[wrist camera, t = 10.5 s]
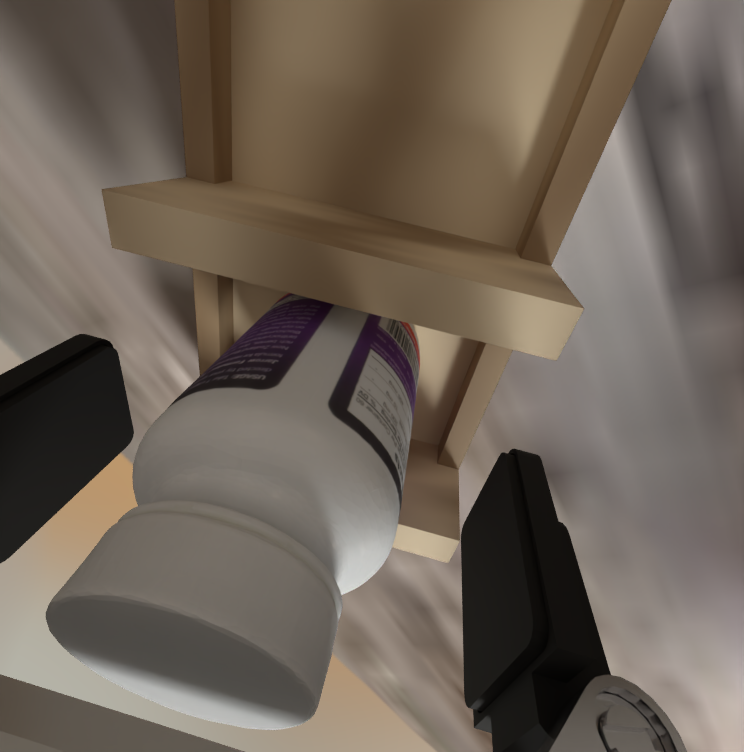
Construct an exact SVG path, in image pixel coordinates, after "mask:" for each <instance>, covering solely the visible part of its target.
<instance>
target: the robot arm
mask: <svg viewBox="0 0 744 752" xmlns="http://www.w3.org/2000/svg"><path fill="white" fill-rule="evenodd" d="M133 434H134V430H133V425H132V420H131V415H130V410H129V405H128V400H127V396H126V391H125V386H124V381H123V376H122V371H121V366H120V361H119V356H118V353H117V351H116V350H115V349H114V348H113V345H112V344H111V343H110V341H107V340H105V339H101V338H97V337H94V336H90V335H86V334H79V335H76V336H74V337H72V338H70V339H68V340H66V341H64V342H63V343H61V344H59V345H57V346H55V347H53V348H51V349H49V350H47V351H45V352H43V353H41V354H40V355H38V356H36V357H34V358H32V359H30V360H28V361H26V362H24V363H22V364H20V365H18V366H17V367H15V368H13V369H11V370H9V371H7V372H5V373H3V374H1V375H0V563H2V562H3V561H5V560H6V559H8V558H9V557H10V556H11V555H12V554H13V553H15V552H16V551H17V550H18V549H19V548H20V547H21V546H22V545H23V544H24V543H25V542H26V541H27V540H28V539H29V538H30V537H31V536H32V535H34V534H35V532H37V531H38V530H39V529H40V528H41V527H42V526H43V525H44V524H45V523H46V522H47V521H48V520H49V519H51V518H52V517H53V516H54V515H55V514H56V513H57V512H58V511H59V510H60V509H61V508H62V507H63V506H64V505H65V504H66V503H68V501H70V500H71V499H72V498H73V497H74V496H75V495H76V494H77V493H78V492H79V491H80V490H81V489H82V488H83V487H85V486H86V485H87V484H88V483H89V482H90V481H91V480H92V479H93V478H94V477H95V476H96V475H97V474H98V473H99V472H100V471H101V470H103V469H104V468H105V467H106V466H107V465H108V464H109V463H110V462H111V461H112V460H113V459H114V458H115V457H116V456H117V455H118V454H119V453H121V452H122V451H123V450H124V449H125V448H126V447H127V446H128V445H129V444H130V442H131V440H132V438H133ZM461 558H462V605H463V652H464V694H465V702H466V705H467V707H468V708H471V709H473V715H474V728H476V729H480V730H483V731H486V732H489V733H492V743H493V752H687V750H686V748H685V746H684V744H683V741H682V739H681V737H680V735H679V733H678V732H677V730H676V728H675V727H674V725H673V724H672V722H671V721H670V719H669V718H668V716H667V715H666V713H665V712H664V711H663V710H662V709H661V708H660V707H659V706H658V704H657V703H656V702H655V701H654V700H653V699H652V698H651V697H650V696H649V695H648V694H646V693H645V692H644V691H643V690H641V689H640V688H639V687H638V686H637V685H635V684H633V683H631V682H629V681H627V680H625V679H623V678H621V677H618V676H613V675H611V674H610V671H609V667H608V664H607V660H606V657H605V654H604V650H603V647H602V643H601V640H600V637H599V633H598V630H597V627H596V623H595V620H594V616H593V613H592V610H591V606H590V603H589V599H588V596H587V593H586V589H585V586H584V582H583V579H582V576H581V572H580V569H579V566H578V562H577V559H576V555H575V552H574V549H573V545H572V542H571V538H570V535H569V533H568V530H567V528H566V527H565V525H564V524H563V523H561V522H558V518H557V515H556V511H555V507H554V504H553V500H552V497H551V493H550V489H549V486H548V482H547V478H546V475H545V471H544V468H543V464H542V460H541V458H540V456H538V455H536V454H532V453H528V452H525V451H521V450H517V449H512V450H510V452H509V453H508V454H507V453H501V454H500V456H499V458H498V460H497V461H496V463H495V465H494V467H493V469H492V471H491V473H490V475H489V477H488V479H487V481H486V482H485V484H484V486H483V488H482V490H481V492H480V494H479V496H478V498H477V500H476V502H475V503H474V505H473V507H472V509H471V511H470V513H469V515H468V517H467V519H466V521H465V523H464V525H463V528H462V534H461ZM0 752H244V751H241V750H238V749H235V748H231V747H228V746H225V745H222V744H219V743H216V742H212V741H209V740H206V739H203V738H200V737H197V736H194V735H191V734H188V733H184V732H181V731H178V730H175V729H172V728H169V727H166V726H162V725H159V724H156V723H153V722H150V721H147V720H143V719H140V718H137V717H134V716H131V715H128V714H124V713H121V712H118V711H115V710H112V709H109V708H105V707H102V706H99V705H96V704H93V703H90V702H86V701H83V700H80V699H77V698H74V697H70V696H67V695H64V694H61V693H57V692H55V691H51V690H48V689H45V688H42V687H39V686H35V685H32V684H29V683H26V682H22V681H19V680H16V679H13V678H10V677H7V676H4V675H0Z"/></svg>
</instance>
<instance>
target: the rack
mask: <svg viewBox="0 0 744 752" xmlns="http://www.w3.org/2000/svg"><path fill="white" fill-rule="evenodd" d="M174 2H175V17H176V31H177V46H178V61H179V76H180V90H181V105H182V120H183V134H184V149H185V164H186V177H184V178H177V179H170V180H163V181H156V182H149V183H142V184H135V185H128V186H121V187H114V188H107V189H102V195H103V200H104V206H105V211H106V217H107V222H108V228H109V233H110V239H111V244H112V248H115V249H119V250H123V251H127V252H131V253H135V254H139V255H143V256H147V257H151V258H155V259H158V260H162V261H166V262H170V263H174V264H178V265H182V266H186V267H190V268H193V281H194V296H195V311H196V325H197V340H198V355H199V370H200V376H201V375H202V374H203V373H204V372H205V371H206V370H207V369H208V368H209V367H210V366H211V365H212V364H213V363H214V362H215V361H216V360H218V359H219V358H220V357H221V356H222V355H223V354H224V353H225V352H226V351H227V350H228V349H229V348H230V347H231V346H232V345H233V344H234V343H235V342H236V341H237V340H238V339H239V338H240V337H241V336H242V335H243V334H244V333H245V332H246V331H247V330H248V329H250V328H251V327H252V326H253V325H254V324H255V323H256V322H257V321H258V320H259V319H260V318H261V317H262V316H263V315H264V314H265V313H266V312H267V311H268V310H269V309H270V308H271V307H272V306H273V305H274V304H275V303H276V302H277V301H278V300H279V299H280V298H282V297H283V296H284V295H286V294H287V293H292V294H296V295H300V296H304V297H308V298H312V299H316V300H319V301H323V302H327V303H331V304H335V305H339V306H343V307H347V308H351V309H355V310H359V311H363V312H367V313H371V314H374V315H378V316H382V317H386V318H390V319H394V320H398V321H402V322H406V323H410V324H413V326H414V328H415V331H416V334H417V337H418V341H419V347H420V371H419V379H418V386H417V393H416V401H415V409H414V416H413V423H412V429H411V438H410V444H409V452H408V459H407V466H406V473H405V481H404V487H403V496H402V503H401V510H400V515H399V520H398V526H397V531H396V536H395V540H394V543H393V546H392V547H393V548H397V549H400V550H404V551H407V552H411V553H414V554H418V555H421V556H425V557H428V558H432V559H435V560H439V561H443V562H446V563H448V562H449V560H450V558H451V557H452V555H453V553H454V551H455V549H456V547H457V545H458V543H459V542H460V527H459V467H460V465H461V463H462V461H463V459H464V456H465V454H466V452H467V450H468V448H469V445H470V443H471V441H472V439H473V437H474V434H475V432H476V430H477V428H478V426H479V423H480V421H481V419H482V417H483V415H484V412H485V410H486V408H487V406H488V403H489V401H490V399H491V397H492V395H493V392H494V390H495V388H496V386H497V384H498V381H499V379H500V377H501V375H502V373H503V370H504V368H505V366H506V364H507V362H508V359H509V357H510V355H511V353H512V351H513V350H516V351H520V352H524V353H528V354H532V355H536V356H539V357H543V358H547V359H551V360H555V361H557V359H558V357H559V355H560V353H561V351H562V349H563V348H564V346H565V344H566V342H567V340H568V338H569V336H570V334H571V333H572V331H573V329H574V327H575V325H576V323H577V321H578V320H579V318H580V316H581V314H582V312H583V310H584V308H583V306H582V305H581V304H580V303H579V301H578V300H577V299H576V297H575V296H574V295H573V294H572V292H571V291H570V290H569V288H568V287H567V286H566V285H565V283H564V282H563V281H562V279H561V278H560V277H559V276H558V274H557V273H556V272H555V270H554V269H553V268H552V267H551V265H552V263H553V260H554V258H555V256H556V254H557V252H558V249H559V247H560V245H561V243H562V240H563V238H564V236H565V234H566V232H567V229H568V227H569V225H570V223H571V221H572V218H573V216H574V214H575V212H576V210H577V207H578V205H579V203H580V201H581V199H582V196H583V194H584V192H585V190H586V188H587V185H588V183H589V181H590V179H591V177H592V174H593V172H594V170H595V168H596V166H597V163H598V161H599V159H600V157H601V155H602V152H603V150H604V148H605V146H606V144H607V141H608V139H609V137H610V135H611V133H612V130H613V128H614V126H615V124H616V122H617V119H618V117H619V115H620V113H621V111H622V108H623V106H624V104H625V102H626V100H627V97H628V95H629V93H630V91H631V88H632V86H633V84H634V82H635V80H636V77H637V75H638V73H639V71H640V69H641V66H642V64H643V62H644V60H645V58H646V55H647V53H648V51H649V49H650V47H651V44H652V42H653V40H654V38H655V36H656V33H657V31H658V29H659V27H660V25H661V22H662V20H663V18H664V16H665V14H666V11H667V9H668V7H669V5H670V3H671V0H174Z"/></svg>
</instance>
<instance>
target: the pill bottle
mask: <svg viewBox="0 0 744 752" xmlns="http://www.w3.org/2000/svg"><path fill="white" fill-rule="evenodd" d="M419 371H420V347H419V341H418V337H417V334H416V331H415V328H414V326H413V324H410V323H406V322H402V321H398V320H394V319H390V318H386V317H382V316H378V315H374V314H371V313H367V312H363V311H359V310H355V309H351V308H347V307H343V306H339V305H335V304H331V303H327V302H323V301H319V300H316V299H312V298H308V297H304V296H300V295H296V294H292V293H287V294H286V295H284V296H283V297H282V298H280V299H279V300H278V301H277V302H276V303H275V304H274V305H273V306H272V307H271V308H270V309H269V310H268V311H267V312H266V313H265V314H264V315H263V316H262V317H261V318H260V319H259V320H258V321H257V322H256V323H255V324H254V325H253V326H252V327H251V328H250V329H248V330H247V331H246V332H245V333H244V334H243V335H242V336H241V337H240V338H239V339H238V340H237V341H236V342H235V343H234V344H233V345H232V346H231V347H230V348H229V349H228V350H227V351H226V352H225V353H224V354H223V355H222V356H221V357H220V358H219V359H218V360H216V361H215V362H214V363H213V364H212V365H211V366H210V367H209V368H208V369H207V370H206V371H205V372H204V373H203V374H202V375H201V376H200V377H199V378H198V379H197V380H196V381H195V382H194V383H193V384H192V385H191V386H190V387H188V388H187V389H186V390H185V391H184V392H183V393H182V394H181V395H180V396H179V397H178V398H177V399H176V400H175V401H174V402H173V403H172V404H171V405H170V406H169V407H168V409H167V410H166V411H165V412H164V413H163V414H162V415H161V416H160V417H159V418H158V419H157V420H156V421H155V422H154V423H153V425H152V426H151V427H150V428H149V430H148V431H147V432H146V434H145V436H144V437H143V439H142V441H141V443H140V445H139V447H138V450H137V453H136V456H135V460H134V464H133V489H134V493H135V498H136V501H137V504H138V507H135V508H133V509H131V510H130V511H128V512H127V513H126V514H125V515H123V516H122V517H121V519H120V520H119V521H118V522H117V523H116V524H115V525H113V526H112V527H111V528H110V529H109V530H108V531H107V532H106V533H105V534H104V536H103V537H102V538H101V540H100V541H99V543H98V544H97V545H96V546H95V548H94V549H93V550H92V551H91V553H90V554H89V555H88V557H87V558H86V559H85V561H84V562H83V563H82V564H81V565H80V567H79V568H78V569H77V570H76V571H75V573H74V574H73V575H72V576H71V578H70V579H69V580H68V581H67V583H66V584H65V585H64V586H63V587H62V588H61V589H60V591H59V592H58V593H57V594H56V595H55V596H54V598H53V599H52V601H51V602H50V604H49V606H48V609H47V611H46V620H47V624H48V627H49V630H50V632H51V633H52V634H53V636H54V637H55V638H56V639H57V641H58V642H59V643H60V644H61V645H62V646H63V647H64V648H65V649H66V650H67V651H68V652H69V653H70V654H71V655H73V656H74V657H75V658H77V659H78V660H79V661H80V662H82V663H83V664H85V665H86V666H87V667H89V668H90V669H91V670H93V671H94V672H96V673H97V674H99V675H101V676H102V677H104V678H105V679H107V680H109V681H111V682H113V683H115V684H117V685H119V686H120V687H122V688H124V689H126V690H128V691H130V692H132V693H135V694H137V695H139V696H142V697H144V698H146V699H148V700H151V701H153V702H155V703H158V704H160V705H162V706H165V707H167V708H170V709H173V710H175V711H178V712H181V713H184V714H187V715H190V716H194V717H197V718H201V719H205V720H209V721H213V722H217V723H223V724H228V725H233V726H238V727H243V728H251V729H263V730H279V729H285V728H290V727H294V726H298V725H301V724H302V723H305V722H306V721H308V720H309V719H310V718H311V717H312V716H313V715H314V714H315V712H316V709H317V707H318V704H319V700H320V697H321V693H322V689H323V685H324V681H325V678H326V674H327V670H328V667H329V663H330V659H331V655H332V650H333V644H334V640H335V636H336V632H337V627H338V620H339V618H340V615H341V611H342V594H345V593H347V592H349V591H352V590H354V589H356V588H357V587H359V586H361V585H362V584H363V583H365V582H366V581H367V580H369V579H370V578H371V577H372V576H373V575H374V574H375V573H376V572H377V571H378V570H379V569H380V567H381V566H382V565H383V563H384V562H385V560H386V559H387V557H388V555H389V553H390V551H391V549H392V546H393V543H394V540H395V536H396V531H397V526H398V520H399V515H400V510H401V503H402V496H403V487H404V481H405V473H406V466H407V459H408V452H409V444H410V438H411V429H412V423H413V416H414V409H415V401H416V393H417V386H418V379H419Z"/></svg>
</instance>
